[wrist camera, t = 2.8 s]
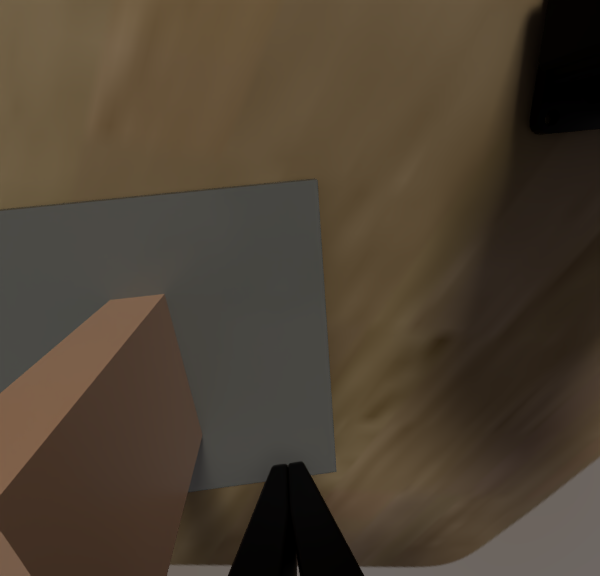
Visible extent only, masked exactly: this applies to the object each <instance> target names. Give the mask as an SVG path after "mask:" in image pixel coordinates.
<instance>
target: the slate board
mask: <svg viewBox="0 0 600 576" xmlns="http://www.w3.org/2000/svg"><path fill="white" fill-rule="evenodd" d="M159 294H165V297H166V301H167V305H168V309H169V312H170V316H171V320H172V323H173V327H174V331H175V335H176V338H177V342H178V346H179V349H180V353H181V357H182V361H183V364H184V368H185V372H186V376H187V379H188V383H189V387H190V390H191V394H192V398H193V402H194V405H195V409H196V413H197V416H198V420H199V424H200V428H201V431H202V439H201V443H200V447H199V451H198V455H197V459H196V463H195V466H194V470H193V474H192V478H191V482H190V486H189V490H188V492H193V491H200V490H208V489H215V488H222V487H229V486H236V485H244V484H251V483H258V482H265V481H266V480H267V477H268V475H269V472H270V470H271V468H272V466H273V465H278V464H287V465H288V464H289V463H292V462H299V461H302V462H303V463H304V464H305V466H306V468H307V469H308V471H309V473H310V475H316V474H323V473H330V472H336V458H335V443H334V427H333V412H332V397H331V381H330V366H329V351H328V335H327V320H326V305H325V289H324V274H323V258H322V243H321V228H320V212H319V197H318V182H317V179H305V180H295V181H285V182H275V183H264V184H254V185H244V186H234V187H224V188H214V189H204V190H193V191H183V192H173V193H163V194H153V195H143V196H133V197H122V198H112V199H102V200H92V201H82V202H72V203H62V204H51V205H41V206H31V207H21V208H11V209H1V210H0V393H1V392H2V391H4V390H5V389H6V388H7V387H8V386H9V385H11V384H12V383H13V382H14V381H15V380H16V379H18V378H19V377H20V376H21V375H22V374H24V373H25V372H26V371H27V370H28V369H29V368H31V367H32V366H33V365H34V364H35V363H36V362H38V361H39V360H40V359H41V358H42V357H44V356H45V355H46V354H47V353H48V352H49V351H51V350H52V349H53V348H54V347H55V346H56V345H58V344H59V343H60V342H61V341H62V340H64V339H65V338H66V337H67V336H68V335H69V334H71V333H72V332H73V331H74V330H75V329H76V328H78V327H79V326H80V325H81V324H82V323H84V322H85V321H86V320H87V319H88V318H89V317H91V316H92V315H93V314H94V313H95V312H96V311H98V310H99V309H100V308H101V307H102V306H104V305H105V304H106V303H107V302H108V301H109V300H115V299H123V298H132V297H141V296H150V295H159Z"/></svg>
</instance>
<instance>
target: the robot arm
mask: <svg viewBox="0 0 600 576" xmlns="http://www.w3.org/2000/svg"><path fill="white" fill-rule="evenodd" d="M548 112H549V114H550V120H549V123H548V124H546V123H545V117H546V115H547V113H548ZM530 128H531V130H532V132H534V133H535V134H540V135H541V134H552V133H562V132H573V131H583V130H594V129H600V0H548V7H547V13H546V19H545V25H544V32H543V38H542V44H541V51H540V57H539V65H538V71H537V77H536V84H535V90H534V96H533V102H532V109H531V115H530ZM296 554H297V556H296ZM297 560H298V567H299V573H300V576H364V574H363V573H362V571H361V569H360V567H359V565H358V563H357V561H356V559H355V558H354V556H353V554H352V552H351V550H350V548H349V546H348V544H347V543H346V541H345V539H344V537H343V535H342V533H341V531H340V529H339V528H338V526H337V524H336V522H335V520H334V518H333V516H332V514H331V513H330V511H329V509H328V507H327V505H326V503H325V501H324V499H323V498H322V496H321V494H320V492H319V490H318V488H317V486H316V484H315V483H314V481H313V479H312V477H311V475H310V473H309V471H308V469H307V468H306V466H305V464H304V463H303V462H302V461H299V462H292V463H289V464H288V465H287V464H278V465H273V466H272V468H271V470H270V472H269V475H268V477H267V480H266V482H265V484H264V487H263V489H262V492H261V494H260V497H259V499H258V502H257V504H256V507H255V509H254V512H253V514H252V517H251V519H250V522H249V524H248V527H247V529H246V532H245V534H244V537H243V539H242V542H241V544H240V547H239V549H238V552H237V554H236V557H235V559H234V562H233V564H232V567H231V569H230V572H229V574H228V576H297Z"/></svg>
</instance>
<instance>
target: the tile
mask: <svg viewBox="0 0 600 576" xmlns="http://www.w3.org/2000/svg"><path fill="white" fill-rule="evenodd" d="M201 439H202V431H201V428H200V424H199V420H198V416H197V413H196V409H195V405H194V402H193V398H192V394H191V390H190V387H189V383H188V379H187V376H186V372H185V368H184V364H183V361H182V357H181V353H180V349H179V346H178V342H177V338H176V335H175V331H174V327H173V323H172V320H171V316H170V312H169V309H168V305H167V301H166V297H165V294H159V295H150V296H141V297H132V298H123V299H115V300H109V301H108V302H107V303H106V304H105V305H104V306H102V307H101V308H100V309H99V310H98V311H96V312H95V313H94V314H93V315H92V316H91V317H89V318H88V319H87V320H86V321H85V322H84V323H82V324H81V325H80V326H79V327H78V328H76V329H75V330H74V331H73V332H72V333H71V334H69V335H68V336H67V337H66V338H65V339H64V340H62V341H61V342H60V343H59V344H58V345H56V346H55V347H54V348H53V349H52V350H51V351H49V352H48V353H47V354H46V355H45V356H44V357H42V358H41V359H40V360H39V361H38V362H36V363H35V364H34V365H33V366H32V367H31V368H29V369H28V370H27V371H26V372H25V373H24V374H22V375H21V376H20V377H19V378H18V379H16V380H15V381H14V382H13V383H12V384H11V385H9V386H8V387H7V388H6V389H5V390H4V391H2V392H1V393H0V576H167V572H168V569H169V565H170V561H171V557H172V553H173V549H174V545H175V541H176V537H177V533H178V529H179V525H180V521H181V517H182V514H183V510H184V506H185V502H186V498H187V494H188V490H189V486H190V482H191V478H192V474H193V470H194V466H195V463H196V459H197V455H198V451H199V447H200V443H201Z"/></svg>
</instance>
